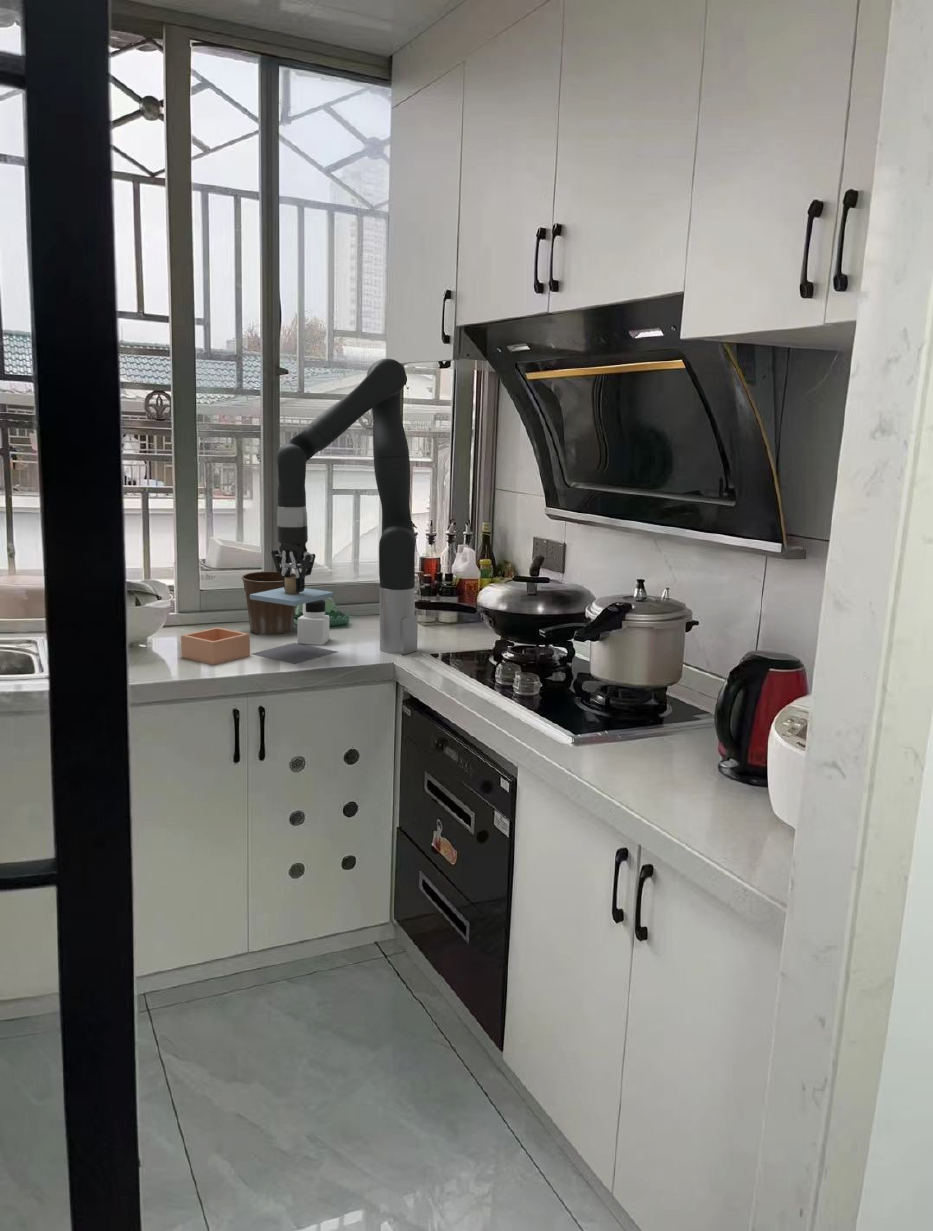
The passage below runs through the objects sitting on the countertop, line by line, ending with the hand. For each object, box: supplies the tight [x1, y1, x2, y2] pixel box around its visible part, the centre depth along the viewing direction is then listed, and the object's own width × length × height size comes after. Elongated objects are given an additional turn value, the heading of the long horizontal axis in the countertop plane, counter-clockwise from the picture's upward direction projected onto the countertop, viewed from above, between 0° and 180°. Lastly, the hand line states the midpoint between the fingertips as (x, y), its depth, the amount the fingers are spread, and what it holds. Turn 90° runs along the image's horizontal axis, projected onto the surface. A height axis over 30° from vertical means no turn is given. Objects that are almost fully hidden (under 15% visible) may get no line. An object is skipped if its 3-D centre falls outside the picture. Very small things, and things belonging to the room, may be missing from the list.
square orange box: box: [180, 626, 251, 666], centre depth 247 cm, size 12×12×6 cm
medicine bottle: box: [296, 599, 331, 646], centre depth 264 cm, size 7×7×12 cm
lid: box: [250, 577, 335, 607], centre depth 248 cm, size 15×15×5 cm
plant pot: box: [241, 570, 296, 636], centre depth 276 cm, size 16×16×16 cm
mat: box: [251, 642, 338, 665], centre depth 252 cm, size 16×16×1 cm
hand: (294, 590), depth 249 cm, fingers closed on lid, 3 cm apart
